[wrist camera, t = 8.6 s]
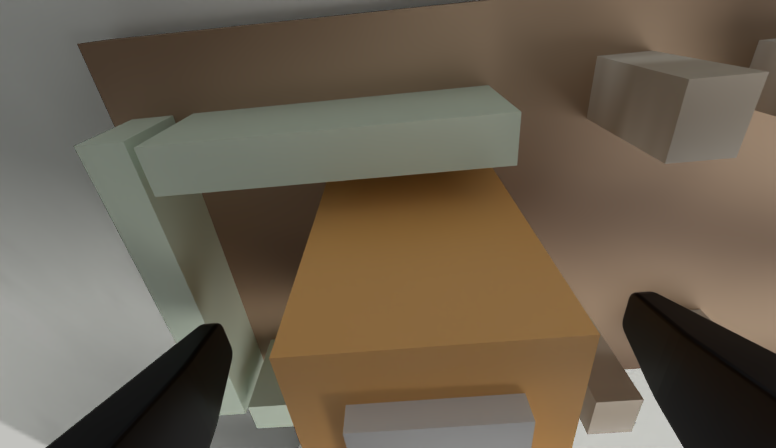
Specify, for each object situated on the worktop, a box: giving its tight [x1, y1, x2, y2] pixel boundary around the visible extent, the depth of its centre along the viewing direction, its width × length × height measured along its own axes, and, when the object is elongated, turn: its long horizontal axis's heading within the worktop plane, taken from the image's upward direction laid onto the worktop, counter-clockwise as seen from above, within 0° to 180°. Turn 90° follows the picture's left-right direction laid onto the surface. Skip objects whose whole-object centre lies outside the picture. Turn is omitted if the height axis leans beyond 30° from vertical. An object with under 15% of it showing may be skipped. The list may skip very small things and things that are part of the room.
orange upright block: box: [269, 168, 600, 448], centre depth 8 cm, size 5×4×6 cm
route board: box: [77, 0, 776, 434], centre depth 10 cm, size 12×24×4 cm, turn 95°
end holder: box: [74, 85, 521, 429], centre depth 10 cm, size 9×8×2 cm
